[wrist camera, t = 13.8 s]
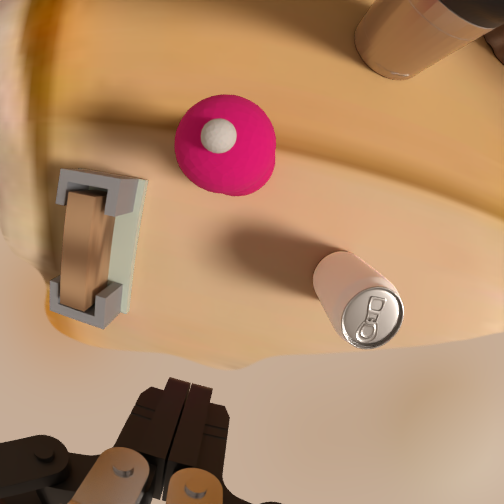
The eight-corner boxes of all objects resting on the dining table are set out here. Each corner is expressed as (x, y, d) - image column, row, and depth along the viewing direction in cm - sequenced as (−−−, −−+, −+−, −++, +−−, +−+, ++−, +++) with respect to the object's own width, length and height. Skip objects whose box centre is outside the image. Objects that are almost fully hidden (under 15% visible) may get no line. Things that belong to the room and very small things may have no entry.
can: (305, 299, 37) (326, 349, 25) (319, 245, 36) (348, 274, 24) (356, 308, 37) (393, 357, 26) (371, 256, 36) (418, 288, 24)
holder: (82, 168, 34) (55, 167, 28) (148, 180, 34) (128, 180, 29) (69, 292, 37) (44, 308, 32) (129, 310, 38) (110, 331, 32)
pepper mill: (260, 203, 35) (264, 230, 15) (196, 182, 34) (124, 184, 15) (282, 141, 33) (314, 89, 14) (218, 120, 33) (173, 50, 13)
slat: (95, 189, 34) (68, 191, 28) (119, 194, 34) (94, 197, 28) (84, 286, 36) (60, 303, 30) (106, 293, 36) (84, 311, 30)
